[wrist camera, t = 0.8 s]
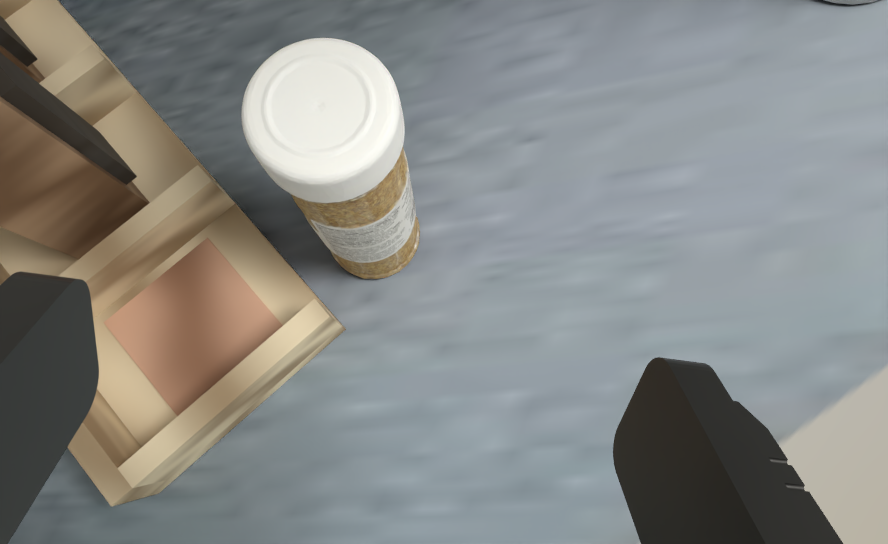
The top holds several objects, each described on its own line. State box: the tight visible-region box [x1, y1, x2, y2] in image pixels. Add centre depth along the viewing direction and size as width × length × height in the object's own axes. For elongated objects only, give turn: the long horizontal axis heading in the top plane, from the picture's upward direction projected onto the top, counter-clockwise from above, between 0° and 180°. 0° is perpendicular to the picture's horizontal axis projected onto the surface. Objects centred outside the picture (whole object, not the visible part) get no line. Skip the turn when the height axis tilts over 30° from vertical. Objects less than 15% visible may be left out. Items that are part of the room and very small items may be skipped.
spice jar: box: [241, 38, 420, 279], centre depth 24 cm, size 5×5×14 cm
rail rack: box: [0, 0, 346, 507], centre depth 24 cm, size 11×25×13 cm, turn 42°
